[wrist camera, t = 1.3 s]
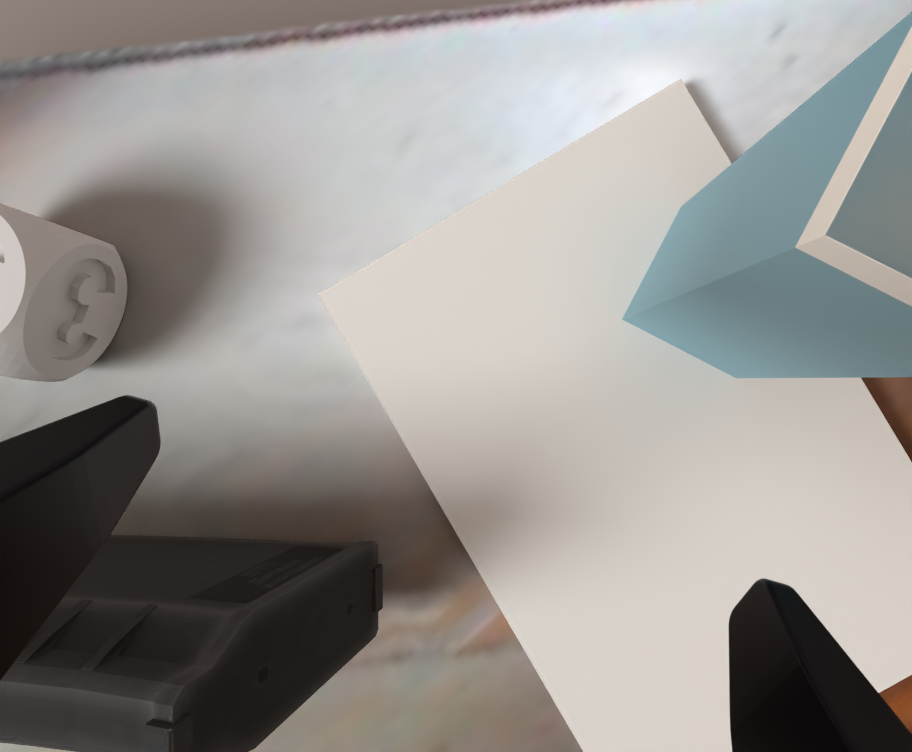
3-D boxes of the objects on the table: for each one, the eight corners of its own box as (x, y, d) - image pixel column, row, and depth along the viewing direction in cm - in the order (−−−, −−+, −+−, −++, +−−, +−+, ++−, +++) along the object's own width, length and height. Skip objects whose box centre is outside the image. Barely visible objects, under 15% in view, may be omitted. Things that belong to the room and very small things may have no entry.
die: (-21, 338, 23) (-160, 326, 18) (23, 213, 23) (-103, 166, 18) (101, 382, 23) (-4, 383, 18) (145, 257, 23) (53, 222, 18)
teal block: (797, 264, 21) (1253, 100, 9) (736, 379, 21) (1104, 377, 9) (681, 205, 21) (967, -38, 9) (621, 319, 21) (823, 235, 9)
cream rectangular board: (992, 614, 22) (1007, 620, 21) (626, 819, 22) (630, 832, 21) (675, 86, 22) (680, 78, 21) (321, 296, 22) (317, 294, 22)
